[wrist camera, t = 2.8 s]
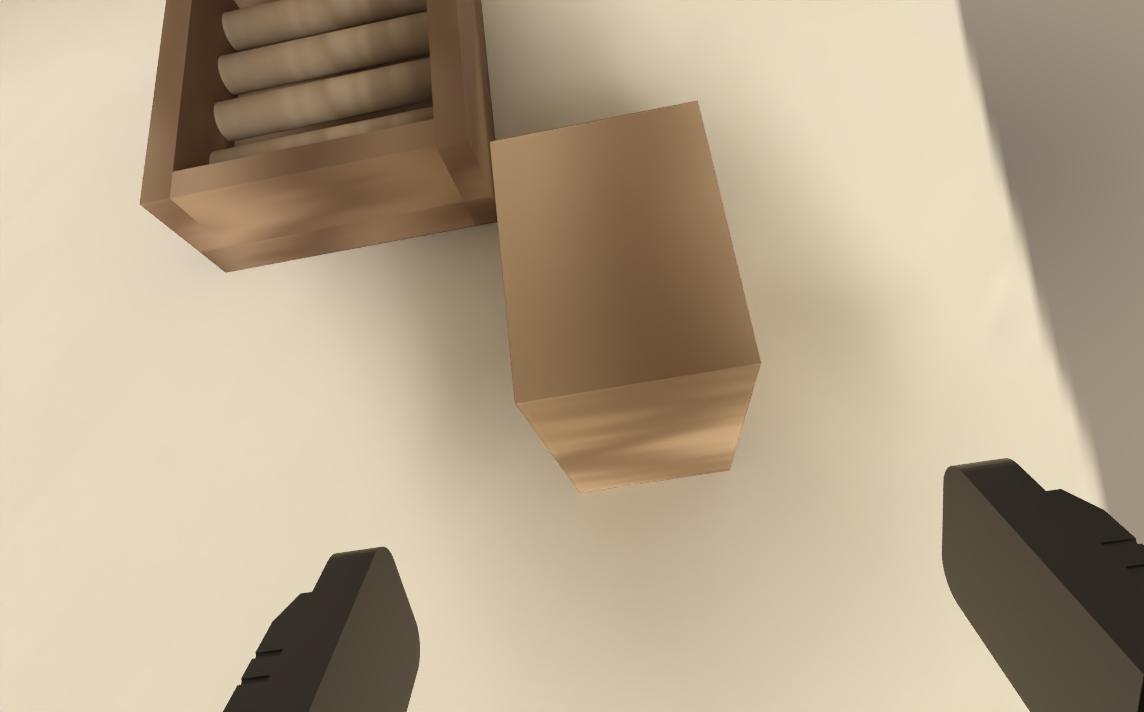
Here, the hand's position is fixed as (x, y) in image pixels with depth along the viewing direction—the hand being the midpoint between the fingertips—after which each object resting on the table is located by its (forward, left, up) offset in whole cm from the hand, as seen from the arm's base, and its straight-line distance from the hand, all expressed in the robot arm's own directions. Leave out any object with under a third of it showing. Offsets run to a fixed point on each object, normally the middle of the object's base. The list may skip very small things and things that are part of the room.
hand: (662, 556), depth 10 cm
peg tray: (-9, +19, -10) cm, 24 cm away
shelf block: (0, +6, -10) cm, 12 cm away
